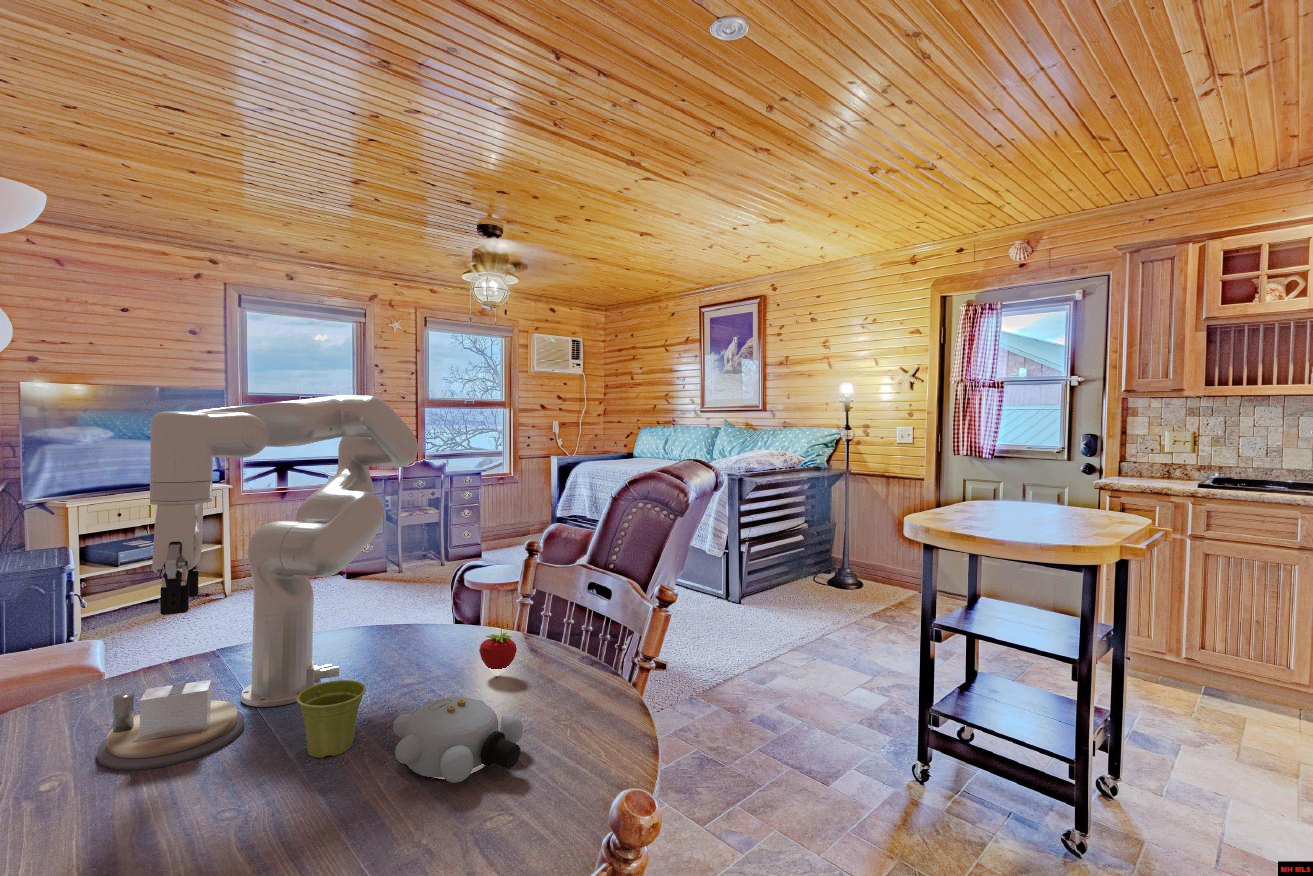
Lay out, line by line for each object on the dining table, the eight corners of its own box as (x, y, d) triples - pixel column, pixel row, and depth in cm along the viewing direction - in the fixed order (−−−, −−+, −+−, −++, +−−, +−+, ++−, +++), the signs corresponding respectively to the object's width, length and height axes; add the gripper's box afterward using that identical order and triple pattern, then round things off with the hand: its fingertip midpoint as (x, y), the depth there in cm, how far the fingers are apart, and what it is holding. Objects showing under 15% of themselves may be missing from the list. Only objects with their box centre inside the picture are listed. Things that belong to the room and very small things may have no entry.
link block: (146, 728, 94) (146, 688, 94) (210, 717, 98) (211, 679, 98) (139, 741, 90) (140, 699, 90) (206, 729, 94) (207, 689, 94)
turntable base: (249, 699, 111) (249, 682, 111) (239, 751, 93) (239, 731, 93) (118, 720, 102) (119, 702, 102) (80, 782, 84) (80, 760, 84)
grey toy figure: (360, 768, 88) (468, 823, 80) (366, 711, 88) (475, 760, 80) (448, 719, 104) (545, 761, 96) (453, 670, 104) (551, 707, 96)
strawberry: (485, 669, 127) (486, 621, 127) (520, 672, 126) (521, 623, 126) (473, 680, 121) (474, 630, 121) (509, 683, 120) (511, 632, 120)
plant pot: (378, 740, 97) (379, 685, 97) (328, 770, 88) (330, 710, 88) (332, 729, 100) (333, 676, 100) (280, 757, 92) (281, 699, 92)
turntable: (258, 723, 99) (259, 683, 99) (138, 769, 85) (139, 723, 85) (204, 700, 107) (205, 664, 107) (86, 740, 93) (87, 697, 93)
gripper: (161, 488, 99) (160, 593, 99) (136, 500, 84) (135, 624, 84) (218, 486, 103) (217, 588, 103) (204, 498, 88) (202, 617, 88)
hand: (180, 604), depth 94 cm, fingers open, 9 cm apart
